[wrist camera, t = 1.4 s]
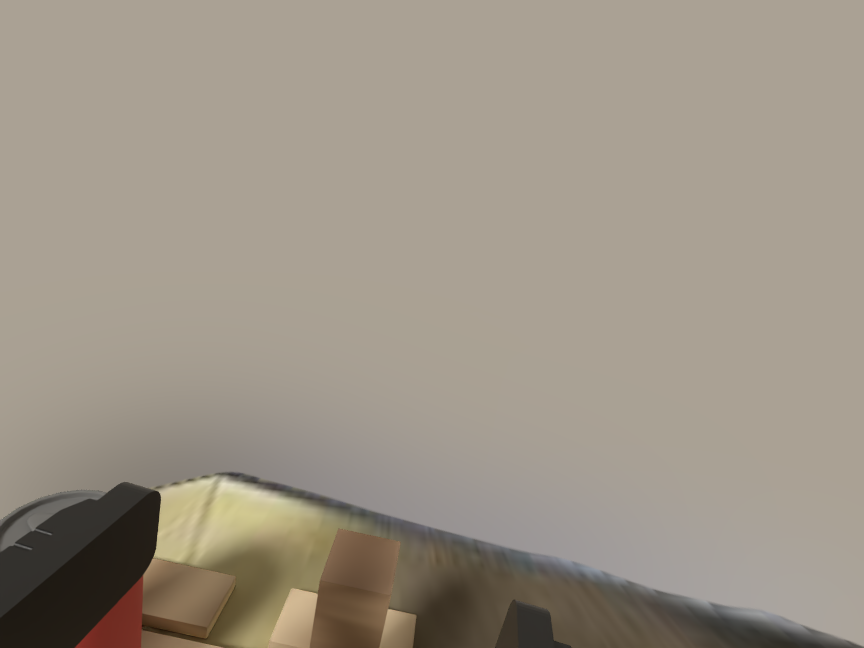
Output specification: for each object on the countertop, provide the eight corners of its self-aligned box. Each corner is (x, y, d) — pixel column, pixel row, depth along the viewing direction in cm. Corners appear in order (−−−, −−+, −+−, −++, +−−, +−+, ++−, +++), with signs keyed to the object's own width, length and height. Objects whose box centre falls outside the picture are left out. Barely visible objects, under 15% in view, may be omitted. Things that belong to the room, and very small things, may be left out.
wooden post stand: (406, 699, 30) (454, 516, 25) (385, 881, 22) (447, 667, 18) (56, 623, 30) (42, 428, 26) (-83, 779, 22) (-139, 540, 18)
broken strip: (413, 625, 35) (416, 615, 34) (407, 682, 31) (410, 671, 30) (111, 560, 35) (111, 549, 34) (68, 608, 31) (67, 597, 31)
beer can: (78, 630, 30) (75, 466, 26) (167, 676, 29) (177, 511, 25) (-50, 742, 24) (-78, 549, 20) (55, 808, 22) (46, 614, 19)
